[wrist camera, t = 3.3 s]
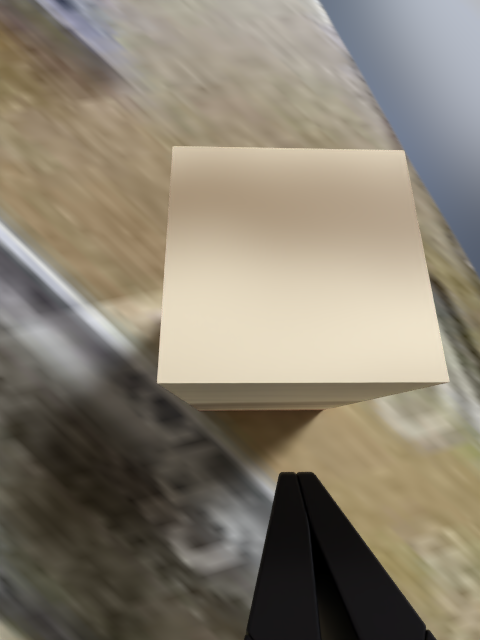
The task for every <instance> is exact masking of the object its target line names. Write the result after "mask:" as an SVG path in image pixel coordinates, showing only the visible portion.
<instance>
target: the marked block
mask: <svg viewBox="0 0 480 640" xmlns="http://www.w3.org/2000/svg"><path fill="white" fill-rule="evenodd" d="M448 382H449V377H448V372H447V367H446V362H445V357H444V351H443V346H442V341H441V336H440V331H439V326H438V321H437V316H436V311H435V305H434V300H433V295H432V290H431V285H430V280H429V275H428V270H427V265H426V259H425V254H424V249H423V244H422V239H421V234H420V229H419V224H418V218H417V213H416V208H415V203H414V198H413V193H412V188H411V183H410V178H409V172H408V167H407V162H406V157H405V152H404V150H354V149H299V148H243V147H188V146H173V151H172V166H171V181H170V196H169V211H168V226H167V241H166V256H165V271H164V286H163V301H162V316H161V330H160V345H159V360H158V375H157V384H159V385H160V386H162V387H163V388H165V389H166V390H168V391H170V392H171V393H173V394H174V395H176V396H177V397H179V398H180V399H182V400H183V401H185V402H186V403H188V404H189V405H191V406H192V407H194V408H195V409H197V410H198V411H241V410H325V409H330V408H334V407H339V406H343V405H348V404H352V403H357V402H362V401H366V400H371V399H375V398H380V397H384V396H389V395H393V394H398V393H403V392H407V391H412V390H416V389H421V388H425V387H430V386H434V385H439V384H444V383H448Z"/></svg>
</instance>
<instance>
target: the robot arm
mask: <svg viewBox="0 0 480 640" xmlns="http://www.w3.org/2000/svg"><path fill="white" fill-rule="evenodd" d="M244 640H436V638H435V637H434V636H433V634H432V633H431V632H430V630H426V625H425V624H424V622H423V621H422V620H421V618H420V617H419V615H418V614H417V613H416V611H415V610H414V609H413V607H412V606H411V605H410V603H409V602H408V600H407V599H406V598H405V596H404V595H403V594H402V592H401V591H400V590H399V588H398V587H397V585H396V584H395V583H394V581H393V580H392V579H391V577H390V576H389V575H388V573H387V572H386V570H385V569H384V568H383V566H382V565H381V564H380V562H379V561H378V560H377V558H376V557H375V555H374V554H373V553H372V551H371V550H370V549H369V547H368V546H367V545H366V543H365V542H364V540H363V539H362V538H361V536H360V535H359V534H358V532H357V531H356V530H355V528H354V527H353V525H352V524H351V523H350V521H349V520H348V519H347V517H346V516H345V515H344V513H343V512H342V510H341V509H340V508H339V506H338V505H337V504H336V502H335V501H334V500H333V498H332V497H331V495H330V494H329V493H328V491H327V490H326V489H325V487H324V486H323V485H322V483H321V482H320V480H319V479H318V478H317V476H316V475H315V474H314V473H312V472H298V473H297V474H296V473H294V472H281V473H280V474H279V477H278V482H277V486H276V491H275V496H274V501H273V505H272V510H271V515H270V520H269V524H268V529H267V534H266V539H265V544H264V548H263V553H262V558H261V563H260V567H259V572H258V577H257V582H256V586H255V591H254V596H253V601H252V605H251V610H250V615H249V620H248V625H247V629H246V635H245V638H244Z"/></svg>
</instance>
